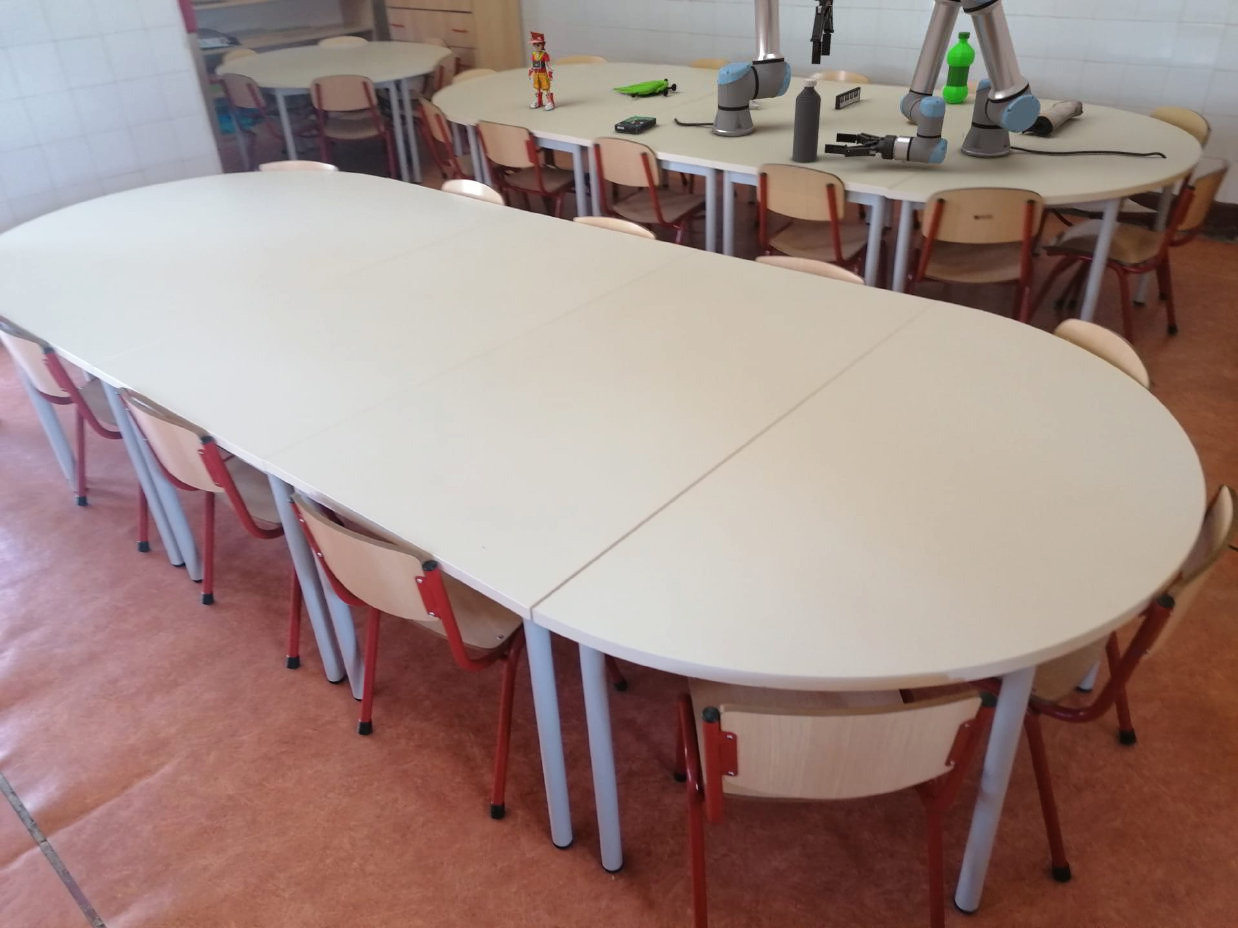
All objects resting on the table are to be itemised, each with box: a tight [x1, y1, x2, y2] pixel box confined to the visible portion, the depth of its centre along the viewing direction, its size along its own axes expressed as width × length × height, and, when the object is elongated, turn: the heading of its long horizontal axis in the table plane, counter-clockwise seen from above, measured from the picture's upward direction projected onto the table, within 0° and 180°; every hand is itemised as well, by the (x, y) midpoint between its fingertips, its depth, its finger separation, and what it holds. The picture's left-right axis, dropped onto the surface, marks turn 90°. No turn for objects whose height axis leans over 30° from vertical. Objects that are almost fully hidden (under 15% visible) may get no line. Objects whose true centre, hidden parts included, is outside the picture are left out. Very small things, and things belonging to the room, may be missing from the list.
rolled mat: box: [1021, 99, 1084, 138], centre depth 318 cm, size 30×9×10 cm
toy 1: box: [527, 31, 556, 111], centre depth 374 cm, size 12×9×30 cm
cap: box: [801, 77, 818, 88], centre depth 290 cm, size 4×5×2 cm
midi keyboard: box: [834, 86, 862, 110], centre depth 359 cm, size 18×1×5 cm, turn 138°
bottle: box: [791, 86, 822, 163], centre depth 297 cm, size 8×8×25 cm
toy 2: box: [612, 78, 677, 99], centre depth 396 cm, size 28×5×30 cm
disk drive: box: [614, 115, 657, 135], centre depth 346 cm, size 10×3×15 cm
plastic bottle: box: [942, 31, 976, 104], centre depth 348 cm, size 10×10×25 cm
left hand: (820, 60), depth 289 cm, fingers open, 13 cm apart
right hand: (830, 143), depth 297 cm, fingers open, 13 cm apart
